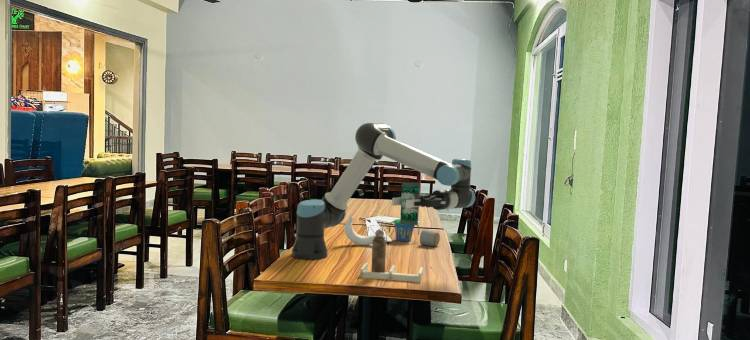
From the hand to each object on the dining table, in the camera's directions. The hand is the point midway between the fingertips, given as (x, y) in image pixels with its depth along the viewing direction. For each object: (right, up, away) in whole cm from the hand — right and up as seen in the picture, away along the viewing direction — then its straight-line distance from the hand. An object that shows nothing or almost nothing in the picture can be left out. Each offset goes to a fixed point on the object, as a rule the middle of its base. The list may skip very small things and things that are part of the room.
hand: (399, 202), depth 197 cm
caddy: (-3, -28, +6) cm, 29 cm away
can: (+4, -8, +4) cm, 10 cm away
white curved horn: (-14, -24, +65) cm, 71 cm away
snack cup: (+6, -24, +81) cm, 85 cm away
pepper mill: (-8, -27, +7) cm, 29 cm away
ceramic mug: (+18, -25, +72) cm, 79 cm away
